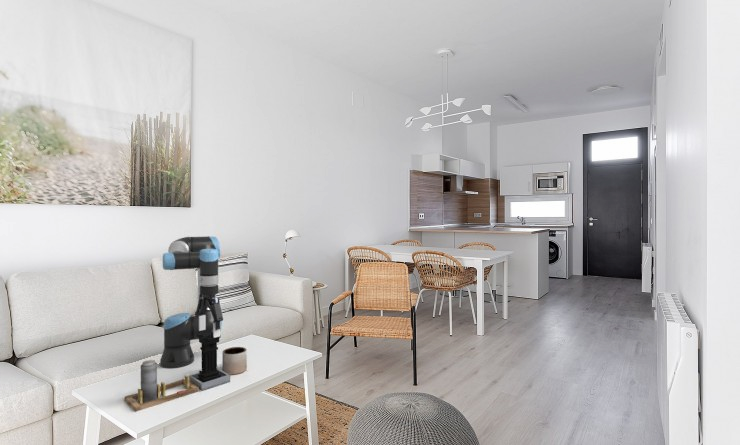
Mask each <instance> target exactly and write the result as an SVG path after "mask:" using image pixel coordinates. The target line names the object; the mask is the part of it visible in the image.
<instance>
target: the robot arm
mask: <svg viewBox="0 0 740 445" xmlns="http://www.w3.org/2000/svg"><path fill="white" fill-rule="evenodd" d="M220 247H221V246H220V241H219V239H218V238H217V236H209V235H208V236H184V237H181V238H178V239H175V240H174V241H172V242H170V244H169V247H168V251H167V252H164V253H162V269H163V270H166V271H174V270H177V271H178V270H194V269H196V270H197V307H196V310H195V311H194V315H191V314H190V313H189V312H180V313H177V314H173V315H170V316H167V317H166V318H165V319H164V322H163V323H164V324H163V341H164V342H163V351H162V354H161V357H160V360H159V362H160V363H159V364H160V367H162V368H166V369H175V368H181V367H185V366H188V365H190V364H192V363H194V361H195V354H194V351H193V349H192V347H191V341H192V340H193V341H194V340H199V338H198V334H203V336H208V335H211V332H213V338H215V337H220V335H221V330H222V326H223V325H222V324H223V321H224V317H223V312H222V308H221V304H220V297H217V295H218V293H219V285H218V284H219V258H221V248H220Z"/></svg>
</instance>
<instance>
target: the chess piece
mask: <svg viewBox="0 0 740 445" xmlns="http://www.w3.org/2000/svg"><path fill="white" fill-rule="evenodd" d="M198 338H199V339H198V342H199V343H200V344H201V346H200V349H199V350H201V370H199V371H198V373H200V374H198V377H199V378H197V379H198V380H199V381H201V382H202V383H204V382H207V381H210V380H214V379H217V378H220V377H221V375H220V374H219V373H220V371H218V370H217V368H218V350H219V347H218V345H217V344H218V343H220V338H221V334H220V337H215V338H213V332H211V335H208V336H203V334H198Z"/></svg>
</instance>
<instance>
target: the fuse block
mask: <svg viewBox="0 0 740 445" xmlns="http://www.w3.org/2000/svg"><path fill="white" fill-rule="evenodd" d="M180 386H184V389H182V390H181V389H180V390H179V391H176V392H175V393H172V394H168V395H166V392H167V390H170V389H173V388H177V387H180ZM199 391H200V390H199V388H198V387H197V386H195V385H194V384H192V383H191V382H189V375H184V379H180V380H178V381H174V382H170V383H167V384H166V383H164V382H163V381H161V382H160V384H158V363H157V362H156V360H153V359H149V360H144V361H143V362H142V364H141V365H140V388H137V392H135V393H132V394H128V395H126V396H123V398H124V400H123V401H124V402H125V403H126V404H127V405H128V406H129V407H130V408H131V409H132V410H133V411H134V412H139V411H142V410H145V409H149V408H151V407H153V406H158V405H161V404H164V403H167V402H170V401H174V400H176V399H179V398H182V397H185V396H189V395H191V394H195V393H197V392H199ZM161 396H162V397H161ZM136 400H137V401H136Z"/></svg>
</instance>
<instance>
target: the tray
mask: <svg viewBox="0 0 740 445" xmlns="http://www.w3.org/2000/svg"><path fill="white" fill-rule="evenodd" d="M217 370H218V371H220V373H219V374H220V375H221V377H220V378H217V379H214V380H210V381H207V382H204V383H202V382H201V381H199V380H198V379H197V378H199V377H198V374H200V373H199V372H196V373H193V374H190V375H188V377H189V382H191V383H192V384H194V385H195V386H197V387H198V388H199V391H201V392H204V391H206V390H209V389H213V388H216V387H219V386H223V385H225V384H228V383H231V375H229V374H227V373H225V372H224V371H222V369H220V368H218V367H217Z"/></svg>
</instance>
